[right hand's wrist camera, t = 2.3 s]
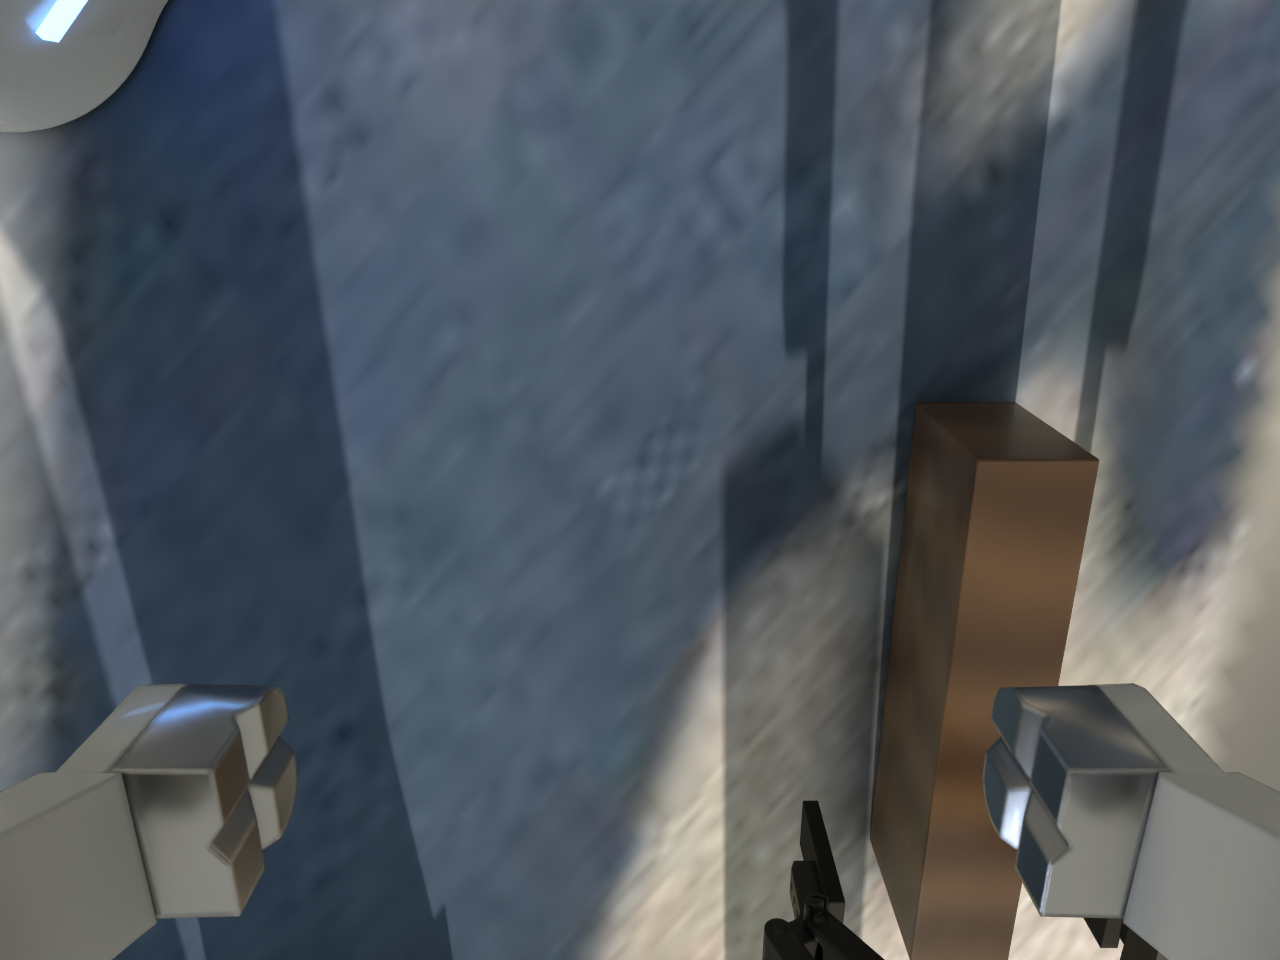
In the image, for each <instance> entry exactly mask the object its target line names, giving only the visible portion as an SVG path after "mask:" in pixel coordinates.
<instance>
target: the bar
mask: <svg viewBox="0 0 1280 960" xmlns="http://www.w3.org/2000/svg"><path fill="white" fill-rule="evenodd" d="M1098 465H1099V459H1098V458H1096V457H1095V456H1093V455H1092V454H1090V453H1089V452H1087V451H1086V450H1084V449H1083V448H1081V447H1080V446H1079V445H1077V444H1076V443H1074V442H1073V441H1071V440H1070V439H1068V438H1067V437H1065V436H1064V435H1062V434H1061V433H1059V432H1058V431H1057V430H1055V429H1054V428H1052V427H1051V426H1049V425H1048V424H1046V423H1045V422H1043V421H1042V420H1040V419H1039V418H1038V417H1036V416H1035V415H1033V414H1032V413H1030V412H1029V411H1027V410H1026V409H1024V408H1023V407H1021V406H1020V405H1018V404H1017V403H1015V402H995V403H917V404H916V410H915V419H914V429H913V438H912V447H911V457H910V466H909V476H908V485H907V495H906V504H905V513H904V523H903V532H902V542H901V551H900V560H899V570H898V579H897V589H896V598H895V607H894V617H893V626H892V636H891V645H890V654H889V664H888V673H887V683H886V692H885V702H884V711H883V720H882V730H881V739H880V749H879V758H878V767H877V777H876V786H875V796H874V805H873V814H872V824H871V833H870V841H871V844H872V847H873V850H874V853H875V856H876V859H877V862H878V865H879V868H880V871H881V874H882V877H883V880H884V883H885V886H886V889H887V892H888V895H889V898H890V901H891V904H892V907H893V910H894V913H895V916H896V919H897V922H898V925H899V928H900V931H901V934H902V937H903V940H904V943H905V946H906V949H907V952H908V955H909V958H910V960H1008V956H1009V950H1010V945H1011V940H1012V934H1013V929H1014V923H1015V918H1016V912H1017V907H1018V901H1019V896H1020V890H1021V885H1022V881H1021V879H1020V877H1019V875H1018V873H1017V871H1016V869H1015V863H1016V857H1017V852H1018V850H1017V849H1015V848H1014V847H1012V846H1011V845H1009V844H1008V843H1006V842H1005V841H1004V840H1002V839H1001V838H999V837H998V835H997V833H996V831H995V829H994V827H993V825H992V823H991V821H990V817H989V814H988V811H987V807H986V804H985V798H984V787H983V769H984V761H985V753H986V751H987V750H988V749H989V748H990V747H991V746H992V745H993V744H994V743H995V742H996V741H997V740H998V739H999V738H1000V737H1001V735H1000V733H999V732H998V730H997V728H996V727H995V725H994V723H993V722H992V720H991V715H992V709H993V704H994V699H995V697H996V695H997V693H998V691H999V689H1000V687H1043V686H1058V683H1059V678H1060V672H1061V667H1062V661H1063V656H1064V650H1065V645H1066V640H1067V634H1068V629H1069V623H1070V618H1071V612H1072V607H1073V601H1074V596H1075V590H1076V585H1077V580H1078V574H1079V569H1080V563H1081V558H1082V552H1083V547H1084V541H1085V536H1086V530H1087V525H1088V520H1089V514H1090V509H1091V503H1092V498H1093V492H1094V487H1095V481H1096V476H1097V470H1098Z"/></svg>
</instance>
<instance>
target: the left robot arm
mask: <svg viewBox="0 0 1280 960" xmlns="http://www.w3.org/2000/svg"><path fill="white" fill-rule="evenodd" d="M800 846H801V851H802V855H803V859H804V861H794V862H793V865H792V868H791V881H790V896H791V901H792V906H793V911H794V916H795V920H793V921H791V922H787V921H785V920H783V919H778V918H775V919H771V920H769V921H767V923H766V924H765V928H764V942H763V959H762V960H884V959H883V958H882V957H881V956H880V955H878V954H877V953H876V952H875V951H874V950H873V949H872V948H870V947H869V946H868V945H867V944H866V943H865V942H863V941H862V940H861V939H860V938H859V937H858V936H856V935H855V934H854V933H853V932H852V931H851V930H850V929H848V928H847V927H846V926H845V925H844V924H843V918H844V908H845V900H844V896H843V892H842V889H841V885H840V881H839V877H838V874H837V870H836V866H835V863H834V859H833V855H832V852H831V848H830V844H829V840H828V837H827V833H826V829H825V826H824V822H823V818H822V814H821V811H820V807H819V803H818V801H803V807H802V821H801V835H800ZM1084 920H1085V921H1086V923H1087V925H1088V927H1089V928H1090V930H1091V932H1092V934H1093V935H1094V937H1095V939H1096V941H1097V942H1098V944H1099V946H1100V948H1118V944H1119V939H1121V940H1122V942H1123V944H1124V946H1123V950H1122V954H1121V958H1120V960H1168V959H1167V958H1166V957H1165V956H1163V955H1162V954H1161V953H1160V952H1159V951H1157V950H1156V949H1155V948H1154V947H1152V946H1151V945H1150V944H1149V943H1147V942H1146V941H1145V940H1144V939H1143V938H1141V937H1140V936H1139V935H1138V934H1136V933H1135V932H1134V931H1133V930H1132V929H1130V928H1129V927H1128V926H1127V925H1125V924H1124V923H1123V920H1124V919H1118V918H1084Z"/></svg>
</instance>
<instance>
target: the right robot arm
mask: <svg viewBox="0 0 1280 960" xmlns="http://www.w3.org/2000/svg"><path fill="white" fill-rule="evenodd" d="M167 2H168V0H0V132H12V133H14V132H30V131H38V130H43V129H48V128H52V127H55V126H59V125H62V124H65V123H67V122H70V121H72V120H75V119H77V118H79V117H81V116H83V115H85V114H86V113H88V112H90V111H91V110H93V109H94V108H96V107H97V106H99V105H100V104H101V103H103V102H104V101H105V100H106V99H108V98H109V97H110V96H111V95H112V94H113V93H114V92H115V91H116V90H117V89H118V88H119V87H120V86H121V85H122V83H123V82H124V81H125V80H126V79H127V77H128V76H129V75H130V73H131V72H132V71H133V69H134V68H135V66H136V64H137V63H138V61H139V59H140V58H141V56H142V54H143V52H144V50H145V48H146V46H147V43H148V41H149V39H150V36H151V34H152V32H153V29H154V27H155V25H156V22H157V20H158V17H159V16H160V14H161V12H162V10H163V8H164V6H165V5H166V3H167ZM288 720H289V716H288V711H287V706H286V701H285V695H284V693H283V692H282V691H281V690H280V689H279V688H278V687H277V686H252V685H203V684H191V685H187V684H147V685H143V686H139V687H136V688H135V689H134V690H133V691H132V692H131V693H130V694H129V695H128V696H127V697H126V698H125V699H124V701H123V702H122V703H121V704H120V705H119V706H118V707H117V708H116V709H115V710H114V711H113V712H112V713H111V714H110V715H109V716H108V717H107V718H106V720H105V721H104V722H103V723H102V724H101V725H100V726H99V727H98V728H97V729H96V730H95V731H94V732H93V733H92V734H91V735H90V736H89V738H88V739H87V740H86V741H85V742H84V743H83V744H82V745H81V746H80V747H79V748H78V749H77V750H76V751H75V752H74V753H73V754H72V755H71V757H70V758H69V759H68V760H67V761H66V762H65V763H64V764H63V765H62V766H61V767H60V768H59V769H58V770H57V771H56V772H45V773H39V774H36V775H34V776H32V777H30V778H28V779H26V780H24V781H22V782H20V783H17V784H15V785H13V786H11V787H9V788H7V789H5V790H3V791H1V792H0V960H112V959H113V958H114V957H116V956H117V955H118V954H119V953H121V952H122V951H123V950H124V949H126V948H127V947H128V946H129V945H130V944H132V943H133V942H134V941H135V940H137V939H138V938H139V937H140V936H141V935H143V934H144V933H145V932H146V931H148V930H149V929H150V928H151V927H153V926H154V925H155V924H156V923H157V920H156V919H162V918H197V917H231V916H240V915H241V913H242V911H243V909H244V907H245V905H246V903H247V901H248V900H249V898H250V896H251V894H252V892H253V890H254V888H255V886H256V884H257V883H258V881H259V879H260V877H261V875H262V873H263V871H264V869H265V863H264V857H263V852H262V850H263V849H265V848H266V847H268V846H269V845H271V844H272V843H274V842H275V841H276V840H278V839H279V838H281V837H282V835H283V833H284V830H285V828H286V826H287V824H288V822H289V820H290V818H291V815H292V810H293V806H294V802H295V797H296V793H297V767H296V760H295V753H294V751H293V750H292V749H291V748H290V747H289V746H288V745H287V744H286V743H285V742H284V741H283V740H282V739H281V738H280V737H279V735H280V733H281V732H282V730H283V728H284V727H285V725H286V723H287V722H288ZM991 720H992V722H993V723H994V725H995V727H996V728H997V730H998V732H999V733H1000V735H1001V737H1000V738H999V739H998V740H997V741H996V742H995V743H994V744H993V745H992V746H991V747H990V748H989V749H988V750H987V751H986V753H985V761H984V769H983V787H984V798H985V804H986V807H987V811H988V814H989V817H990V821H991V823H992V825H993V827H994V829H995V831H996V833H997V835H998V837H999V838H1001V839H1002V840H1004V841H1005V842H1006V843H1008V844H1009V845H1011V846H1012V847H1014V848H1015V849H1017V850H1018V852H1017V857H1016V863H1015V869H1016V871H1017V873H1018V875H1019V877H1020V879H1021V881H1022V882H1023V884H1024V886H1025V888H1026V890H1027V892H1028V894H1029V896H1030V898H1031V899H1032V901H1033V903H1034V905H1035V907H1036V909H1037V911H1038V913H1039V914H1040V916H1046V917H1082V918H1118V919H1124V920H1123V923H1124V924H1125V925H1127V926H1128V927H1129V928H1130V929H1132V930H1133V931H1134V932H1135V933H1136V934H1138V935H1139V936H1140V937H1141V938H1143V939H1144V940H1145V941H1146V942H1147V943H1149V944H1150V945H1151V946H1152V947H1154V948H1155V949H1156V950H1157V951H1159V952H1160V953H1161V954H1162V955H1163V956H1165V957H1166V958H1167V959H1168V960H1280V792H1279V791H1277V790H1275V789H1273V788H1271V787H1269V786H1267V785H1265V784H1262V783H1260V782H1258V781H1256V780H1254V779H1252V778H1250V777H1248V776H1246V775H1243V774H1241V773H1235V772H1224V771H1223V770H1222V769H1221V768H1220V767H1219V766H1218V765H1217V764H1216V763H1215V762H1214V761H1213V760H1212V759H1211V758H1210V756H1209V755H1208V754H1207V753H1206V752H1205V751H1204V750H1203V749H1202V748H1201V747H1200V746H1199V745H1198V744H1197V743H1196V742H1195V741H1194V740H1193V738H1192V737H1191V736H1190V735H1189V734H1188V733H1187V732H1186V731H1185V730H1184V729H1183V728H1182V727H1181V726H1180V725H1179V724H1178V723H1177V722H1176V720H1175V719H1174V718H1173V717H1172V716H1171V715H1170V714H1169V713H1168V712H1167V711H1166V710H1165V709H1164V708H1163V707H1162V706H1161V705H1160V704H1159V702H1158V701H1157V700H1156V699H1155V698H1154V697H1153V696H1152V695H1151V694H1150V693H1149V692H1148V691H1147V690H1146V689H1145V688H1143V687H1141V686H1138V685H1136V684H1134V683H1130V684H1102V685H1087V686H1043V687H1000V689H999V691H998V693H997V695H996V697H995V699H994V704H993V709H992V715H991Z"/></svg>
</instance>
